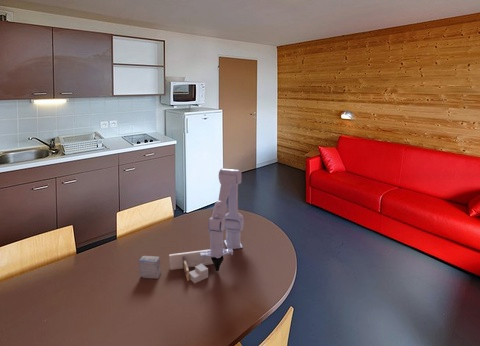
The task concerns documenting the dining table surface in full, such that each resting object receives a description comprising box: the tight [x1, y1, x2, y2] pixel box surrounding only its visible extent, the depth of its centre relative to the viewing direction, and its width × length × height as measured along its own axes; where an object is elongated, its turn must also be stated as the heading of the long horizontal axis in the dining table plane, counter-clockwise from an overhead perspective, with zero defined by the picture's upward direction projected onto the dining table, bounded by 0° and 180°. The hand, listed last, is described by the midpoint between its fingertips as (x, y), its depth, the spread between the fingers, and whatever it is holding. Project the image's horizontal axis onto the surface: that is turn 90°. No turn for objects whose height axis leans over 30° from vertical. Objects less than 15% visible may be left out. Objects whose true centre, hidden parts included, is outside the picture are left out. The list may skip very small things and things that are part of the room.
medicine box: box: [138, 255, 162, 280], centre depth 135 cm, size 8×4×9 cm, turn 84°
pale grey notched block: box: [189, 264, 209, 284], centre depth 134 cm, size 5×7×4 cm
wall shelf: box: [168, 249, 214, 271], centre depth 142 cm, size 3×21×7 cm, turn 105°
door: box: [183, 260, 190, 282], centre depth 136 cm, size 8×2×5 cm, turn 20°
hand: (217, 270), depth 139 cm, fingers closed
